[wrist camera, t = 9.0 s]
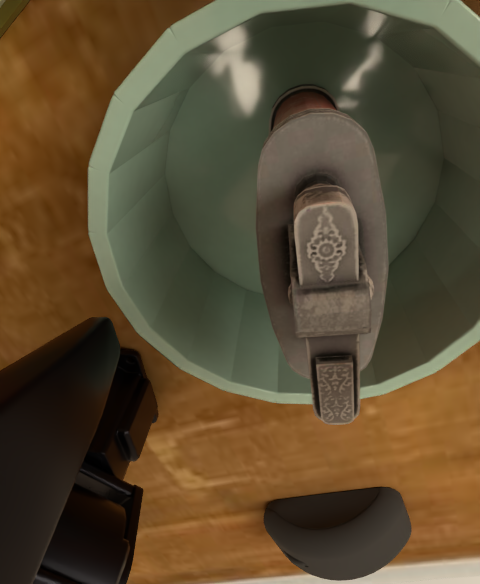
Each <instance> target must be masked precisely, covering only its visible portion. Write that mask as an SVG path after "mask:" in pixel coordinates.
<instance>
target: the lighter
mask: <svg viewBox="0 0 480 584" xmlns="http://www.w3.org/2000/svg"><path fill="white" fill-rule="evenodd" d="M256 239H257V250H258V261H259V272H260V282H261V286H262V290H263V294H264V298H265V301H266V305H267V309H268V313H269V317H270V321H271V325H272V328H273V330H274V333H275V335H276V337H277V340H278V342H279V345H280V347H281V349H282V352H283V354H284V356H285V359H286V361H287V363H288V365H289V366H290V367H291V369H292V370H293V371H294V372H296V373H298V374H299V375H301V376H302V377H305V378H308V379H310V383H311V392H312V401H313V410H314V413H315V416H316V417H317V418H318V419H320V420H322V421H323V422H324V423H326V424H333V425H339V424H349V423H351V422H352V421H353V420H354V419H355V418H356V417H357V416H358V415H359V412H360V371H362V370H363V369H364V368H366V367H367V365H368V363H369V362H370V360H371V358H372V355H373V351H374V347H375V344H376V340H377V337H378V333H379V330H380V326H381V322H382V319H383V311H384V303H385V295H386V287H387V278H388V270H389V266H388V246H387V225H386V210H385V205H384V199H383V194H382V189H381V183H380V178H379V173H378V167H377V162H376V157H375V152H374V148H373V145H372V143H371V141H370V139H369V136H368V134H367V132H366V131H365V130H364V129H363V128H362V127H361V126H360V125H359V124H358V123H357V122H356V121H354V120H353V119H352V118H351V117H350V116H349V115H347V114H344V113H341V112H340V109H339V106H338V104H337V102H336V100H335V98H334V97H333V96H332V95H331V94H330V93H329V92H328V91H327V90H326V89H325V88H323V87H320V86H317V85H314V84H300V85H298V86H295V87H292V88H289V89H288V90H287V91H285V92H284V93H283V94H282V95H280V96H279V97H278V99H277V100H276V102H275V104H274V105H273V107H272V111H271V115H270V119H269V135H268V137H267V139H266V140H265V142H264V144H263V148H262V152H261V156H260V160H259V164H258V176H257V202H256Z"/></svg>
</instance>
